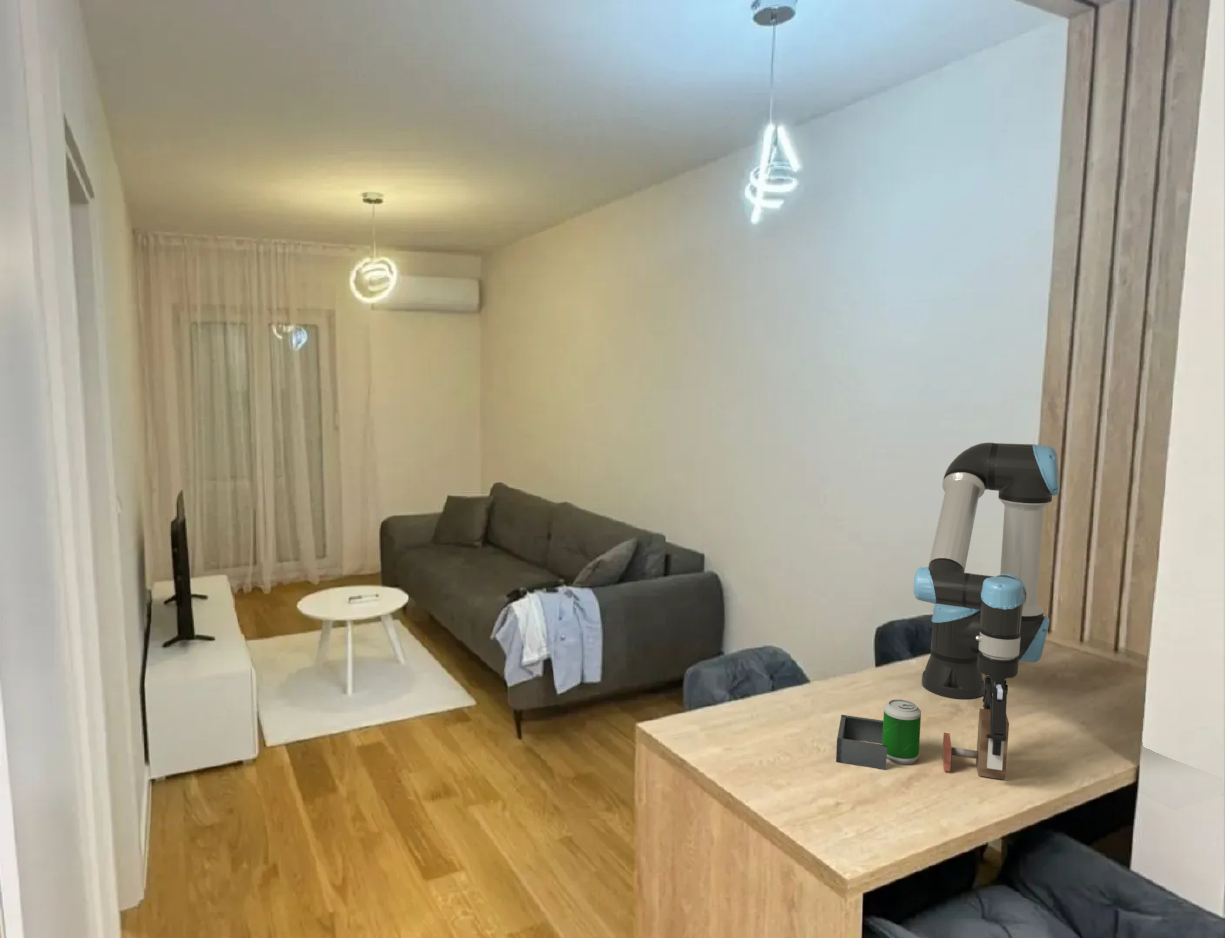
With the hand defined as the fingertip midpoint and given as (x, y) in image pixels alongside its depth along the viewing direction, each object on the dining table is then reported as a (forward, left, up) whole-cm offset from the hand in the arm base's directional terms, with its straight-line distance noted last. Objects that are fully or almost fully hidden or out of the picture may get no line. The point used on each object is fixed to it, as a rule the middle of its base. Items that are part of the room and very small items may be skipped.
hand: (991, 754), depth 168 cm
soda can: (+13, -12, -4) cm, 18 cm away
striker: (+2, -2, -4) cm, 5 cm away
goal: (+19, -17, -4) cm, 26 cm away
